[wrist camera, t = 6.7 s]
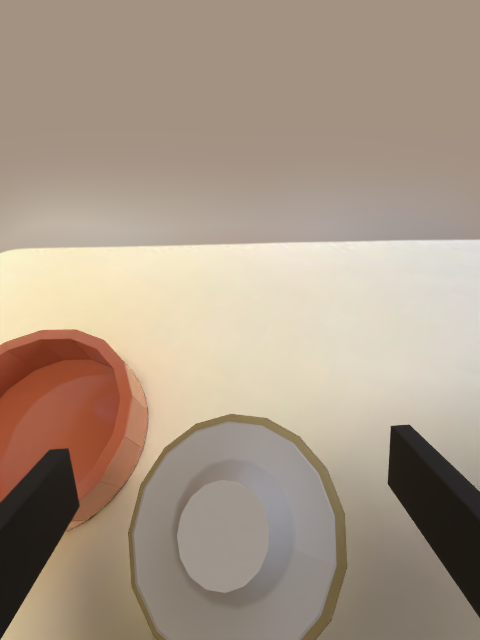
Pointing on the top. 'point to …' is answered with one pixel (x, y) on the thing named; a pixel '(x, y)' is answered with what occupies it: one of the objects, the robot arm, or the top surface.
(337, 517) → the squeeze bottle
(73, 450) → the holder
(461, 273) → the top surface
